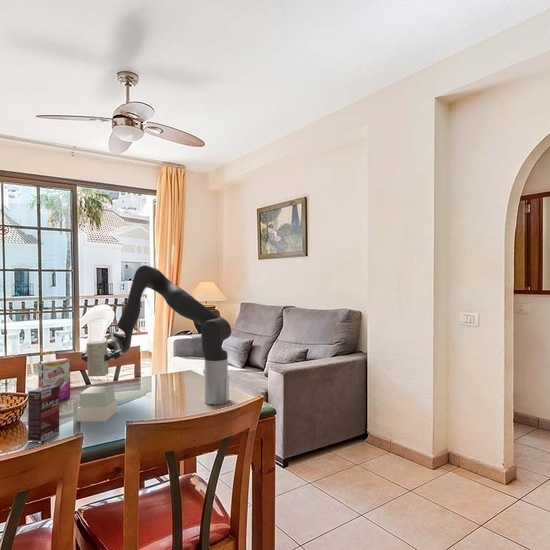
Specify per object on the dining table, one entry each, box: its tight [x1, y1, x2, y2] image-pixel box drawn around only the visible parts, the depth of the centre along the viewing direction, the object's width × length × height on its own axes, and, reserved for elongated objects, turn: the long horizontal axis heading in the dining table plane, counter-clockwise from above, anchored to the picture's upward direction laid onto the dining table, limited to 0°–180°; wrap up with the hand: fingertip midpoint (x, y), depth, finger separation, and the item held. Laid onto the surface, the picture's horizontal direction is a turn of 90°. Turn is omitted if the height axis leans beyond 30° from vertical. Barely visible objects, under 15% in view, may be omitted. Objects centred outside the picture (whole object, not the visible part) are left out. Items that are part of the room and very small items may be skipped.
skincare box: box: [86, 340, 109, 377], centre depth 153 cm, size 6×4×12 cm
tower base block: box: [76, 399, 118, 422], centre depth 153 cm, size 10×10×5 cm
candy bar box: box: [37, 358, 71, 401], centre depth 174 cm, size 11×5×16 cm, turn 137°
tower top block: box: [79, 385, 116, 408], centre depth 153 cm, size 9×9×5 cm
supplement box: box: [27, 385, 60, 443], centre depth 133 cm, size 9×5×16 cm, turn 168°
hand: (95, 358), depth 151 cm, fingers closed on skincare box, 6 cm apart
